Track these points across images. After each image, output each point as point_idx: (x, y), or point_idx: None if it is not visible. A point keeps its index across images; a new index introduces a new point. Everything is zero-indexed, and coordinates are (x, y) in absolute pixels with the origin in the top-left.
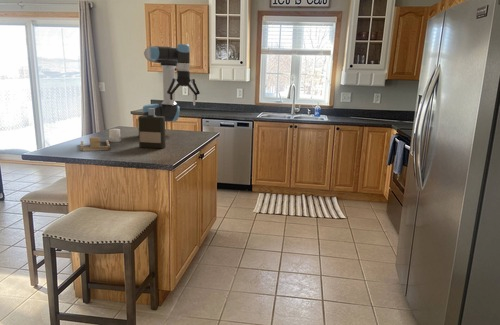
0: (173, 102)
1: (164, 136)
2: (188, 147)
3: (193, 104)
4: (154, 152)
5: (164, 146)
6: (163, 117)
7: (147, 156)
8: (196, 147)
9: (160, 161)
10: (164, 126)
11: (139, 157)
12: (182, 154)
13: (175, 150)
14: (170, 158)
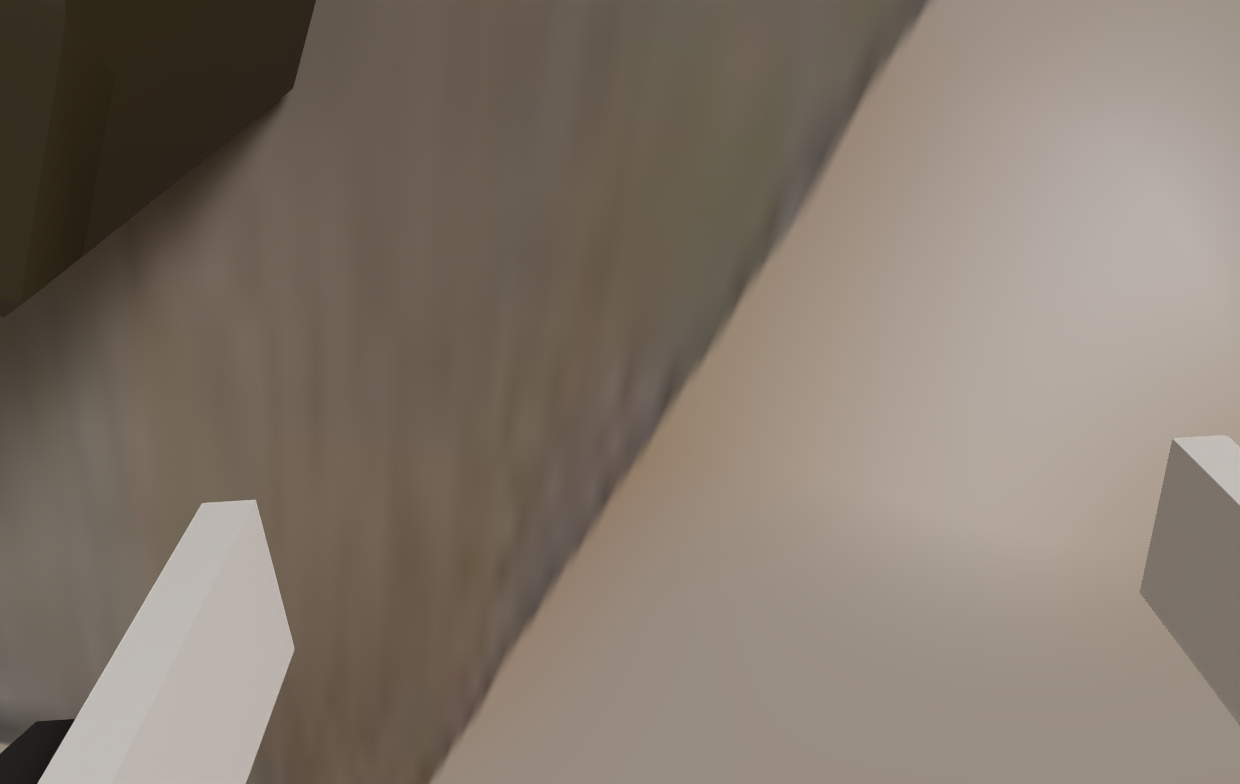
0: (245, 741)
1: (254, 72)
2: (727, 54)
3: (1176, 521)
4: (167, 327)
5: (302, 50)
6: (59, 169)
7: (100, 520)
8: (863, 75)
9: (275, 726)
10: (185, 103)
11: (8, 551)
12: (551, 484)
13: (481, 246)
14: (386, 636)
